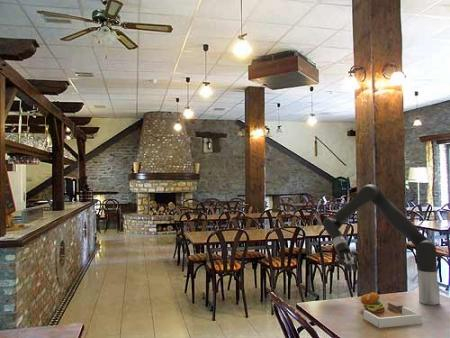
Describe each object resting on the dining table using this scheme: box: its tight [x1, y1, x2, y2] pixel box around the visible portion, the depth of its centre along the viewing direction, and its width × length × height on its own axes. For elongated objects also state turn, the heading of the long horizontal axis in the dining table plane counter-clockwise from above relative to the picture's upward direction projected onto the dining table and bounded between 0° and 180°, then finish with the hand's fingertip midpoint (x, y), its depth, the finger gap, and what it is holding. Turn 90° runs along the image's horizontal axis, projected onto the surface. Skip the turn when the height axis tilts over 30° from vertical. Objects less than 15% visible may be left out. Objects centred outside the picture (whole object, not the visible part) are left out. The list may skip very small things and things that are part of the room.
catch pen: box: [363, 306, 423, 329], centre depth 182 cm, size 22×12×4 cm, turn 102°
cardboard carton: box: [387, 301, 404, 313], centre depth 198 cm, size 4×7×3 cm, turn 12°
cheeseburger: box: [360, 292, 386, 314], centre depth 198 cm, size 10×11×10 cm
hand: (352, 271), depth 217 cm, fingers closed
